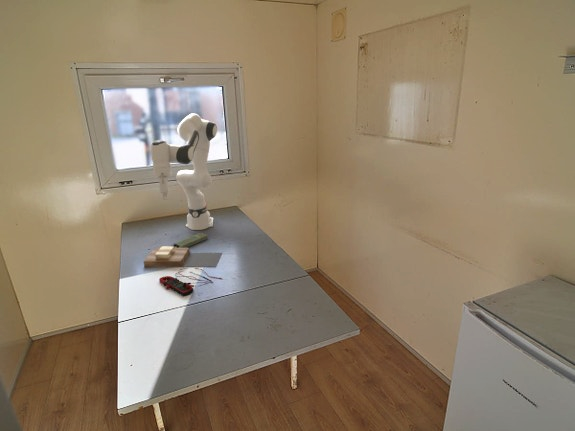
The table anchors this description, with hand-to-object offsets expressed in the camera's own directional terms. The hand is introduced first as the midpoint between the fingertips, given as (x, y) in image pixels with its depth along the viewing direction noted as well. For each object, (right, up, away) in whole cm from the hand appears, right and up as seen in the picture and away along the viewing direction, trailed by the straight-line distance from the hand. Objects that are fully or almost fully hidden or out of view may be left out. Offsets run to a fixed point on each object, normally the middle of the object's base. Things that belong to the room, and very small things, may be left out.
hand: (165, 196), depth 185 cm
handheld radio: (+3, -26, +25) cm, 36 cm away
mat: (+19, -35, +6) cm, 40 cm away
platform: (-1, -35, +6) cm, 35 cm away
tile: (-2, -32, +5) cm, 32 cm away
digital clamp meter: (+18, -44, -14) cm, 49 cm away
